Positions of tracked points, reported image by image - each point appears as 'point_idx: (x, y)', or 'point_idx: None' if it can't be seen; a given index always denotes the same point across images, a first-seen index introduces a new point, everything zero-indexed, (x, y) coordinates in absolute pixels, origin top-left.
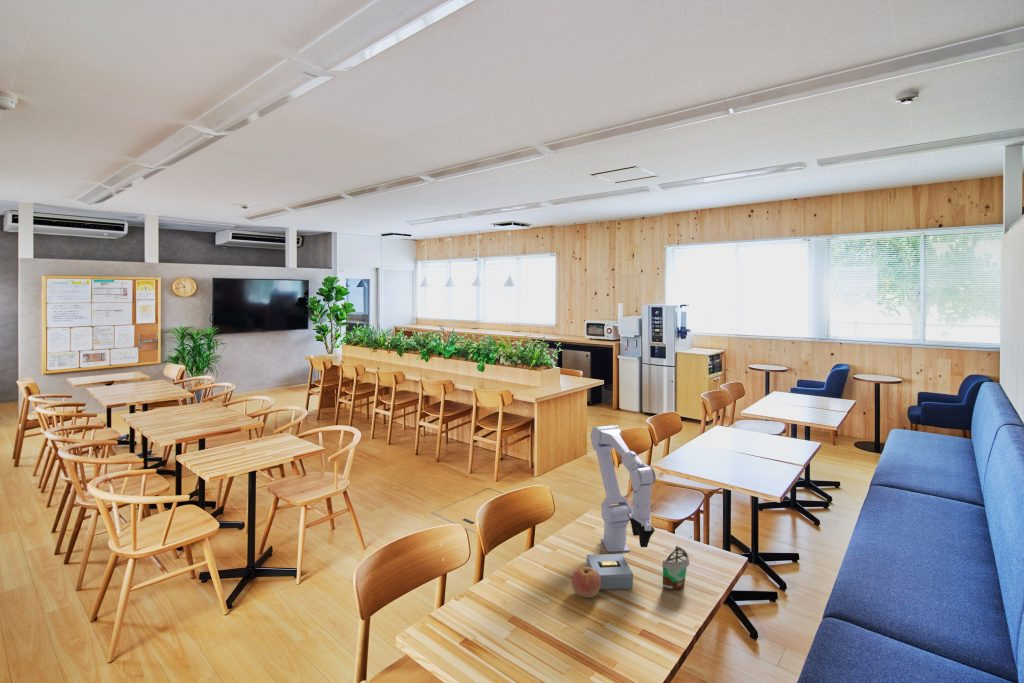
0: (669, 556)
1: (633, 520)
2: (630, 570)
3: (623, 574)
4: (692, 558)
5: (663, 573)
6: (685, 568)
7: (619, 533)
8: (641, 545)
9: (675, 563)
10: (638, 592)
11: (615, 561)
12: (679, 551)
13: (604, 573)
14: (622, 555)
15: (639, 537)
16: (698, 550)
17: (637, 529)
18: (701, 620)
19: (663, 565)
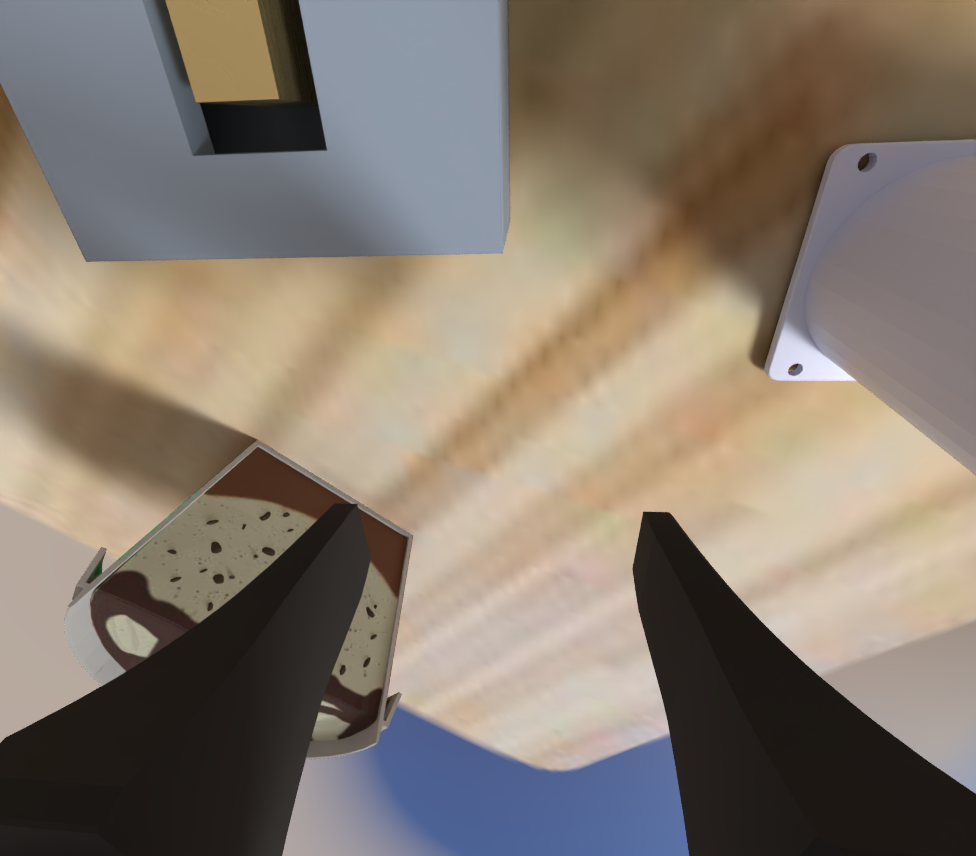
0: None
1: (736, 771)
2: (147, 251)
3: (26, 134)
4: (579, 659)
5: (173, 513)
6: None
7: (935, 354)
8: (318, 524)
9: (91, 656)
10: (160, 265)
11: (267, 89)
12: (330, 721)
13: None
14: (464, 248)
15: (264, 600)
16: (649, 700)
17: (12, 778)
18: (28, 514)
19: (89, 568)
